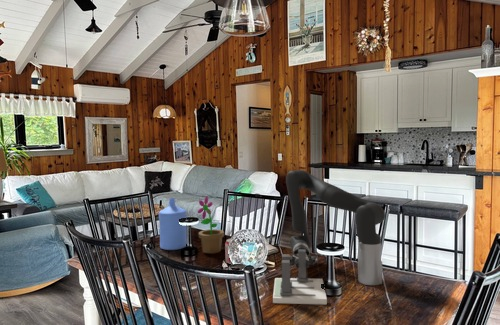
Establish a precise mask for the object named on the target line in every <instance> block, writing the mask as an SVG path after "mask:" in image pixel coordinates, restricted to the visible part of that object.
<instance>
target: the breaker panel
mask: <svg viewBox="0 0 500 325" xmlns="http://www.w3.org/2000/svg"><path fill="white" fill-rule="evenodd" d="M281 282H282V277H275V278H274V283H273V293H272V304H289V305H290V304H291V305H294V304H296V305H297V304H301V305H327V304H328V298H327V294H326V290H324V289H325V288H324V289H322V288H321V284H324V280H323V278H308V282H298V281H297V277H296V278H295V277H290V282H292V288H290V289H292V296H283V295H280V290H281V289H282V288H281Z"/></svg>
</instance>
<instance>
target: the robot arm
mask: <svg viewBox="0 0 500 325" xmlns="http://www.w3.org/2000/svg"><path fill="white" fill-rule="evenodd" d="M285 184H286V189H287V194H288V199H289V203H290V208H291V222H292V224H291V225H292V230H293V231H295V232H300V233H302V235H299V234H298V235H293V236H290V238H289V246H290V248H291V250H292V255H290V266H295V268H297V269H299V262H298V249H305V250H306V269H308V268H309V267H310V266H314V265H315V264H317V262H318V255H313V256H312V255H311V252H310V249H311V247H312V240H311V238H310V234H309V230H308V224H307V212H306V210H305V207H304V205H303V203H302V201H301V199H300V198H301V197H300V189H305V190H307V191H310V192H311V193H314V194H315V195H316V197H317V198H318V199H319V200H320V201H321V202H322V203H324V204H326V205H328V206H330V207H332V208H335V209H339V210H343V211H349V212H351V213H355V219H354V220H355V233H356V236H357V271H358V272H357V274H358V275H357V277H358V279H357V280H358V282H359V284H363V285H366V286H378V285H382V284H383V261H382V236H381V235H380V234H378V233H377V227H376V226H377V225H379V224H381V223H382V222H383V221H384V220H385V218H386V212H385V210H384V208H383V207H382V206H381V205H380V204H378V203H375V202H374V201H373V202H372V201H370V200H366V199H364V198H360V197H359V196H356V195H355V194H352V193H351V192H348V191H347V190H344V189H342V188H341V187H339V186H336V185H334V184H331V183H329V182H327V181H324V180H321V179H319V178H318V177H316V176H314V175H312V174H311V173H309V172H308V171H306V170H304V169H298V170H297V169H296V170H295V169H294V170H289V171H288V172H287V174H286V177H285Z"/></svg>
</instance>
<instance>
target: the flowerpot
mask: <svg viewBox="0 0 500 325" xmlns="http://www.w3.org/2000/svg"><path fill="white" fill-rule="evenodd" d="M198 203H199V205H200V206H201V207H200V208H199V209H198V210H197V213H198V214H202V215H201V216H202V217H201V218H202V219H203V220H201V222H200V224H203V225H208V224H209V225H210V228H209V229H205V230H201V231H199V232H198V238H199V239H200V241H201V248H202V253H205V254H216V253H220V252H221V251H222V242H223V238H224V236H225V232H224V230H223V229H214V228H216V227H217V226H218V224H217V223H213V222H212V221H213V220H212V210H211V209H210V207H212V206H213V202H212V201H211V202H209V197H208V196H205V198H204V201H203V200H201V199H200V200H199V201H198ZM207 215H208V218H207Z"/></svg>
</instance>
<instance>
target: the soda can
mask: <svg viewBox="0 0 500 325" xmlns="http://www.w3.org/2000/svg"><path fill="white" fill-rule="evenodd" d="M230 240H231V238H228V239H226V241H225V243H224V245H225V246H224V250H225V252H224V253H225V254H224V256H225V257H224V258H225V263H226V264H227V263H229V264H231V261H230V258H229V254H228V246H229V242H230Z"/></svg>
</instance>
